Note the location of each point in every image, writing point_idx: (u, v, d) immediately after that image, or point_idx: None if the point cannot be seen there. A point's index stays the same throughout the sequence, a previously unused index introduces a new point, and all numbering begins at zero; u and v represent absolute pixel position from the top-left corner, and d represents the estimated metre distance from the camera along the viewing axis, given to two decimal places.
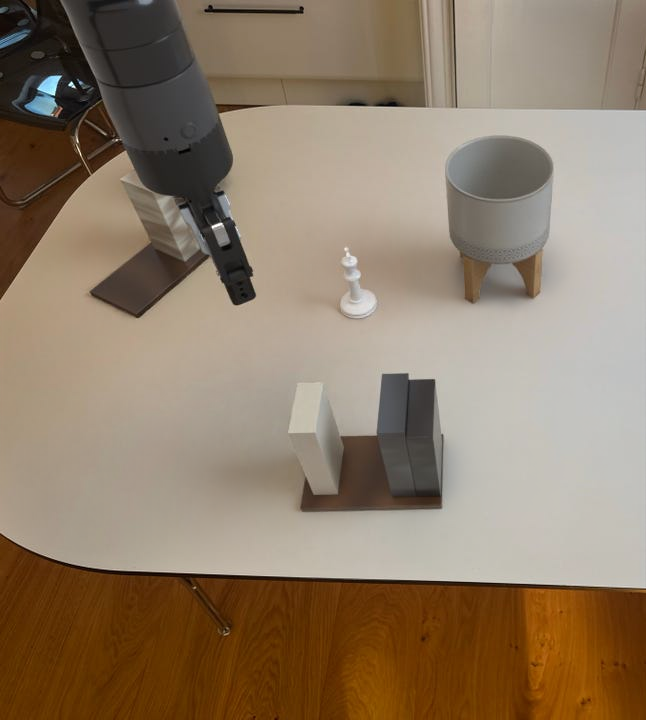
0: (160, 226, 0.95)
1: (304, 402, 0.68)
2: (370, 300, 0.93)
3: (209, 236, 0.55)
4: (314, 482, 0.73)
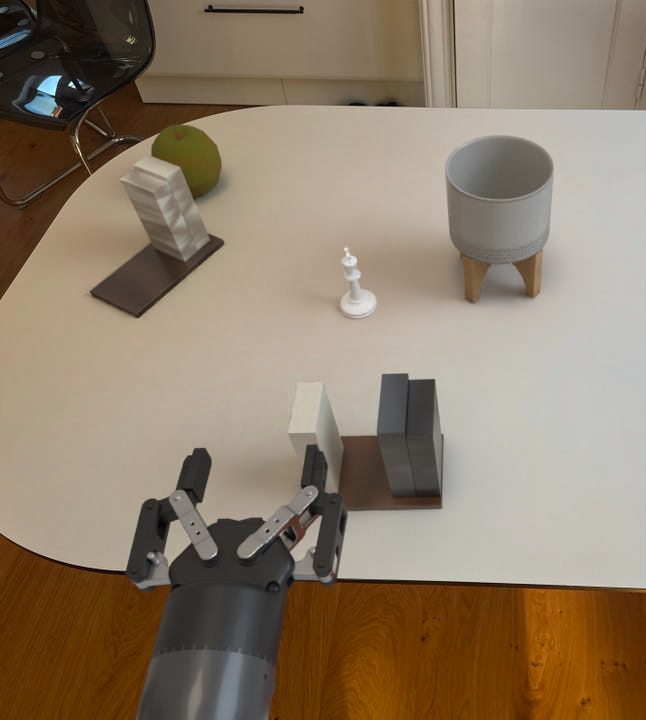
0: (160, 226, 0.95)
1: (304, 402, 0.68)
2: (370, 300, 0.93)
3: None
4: None
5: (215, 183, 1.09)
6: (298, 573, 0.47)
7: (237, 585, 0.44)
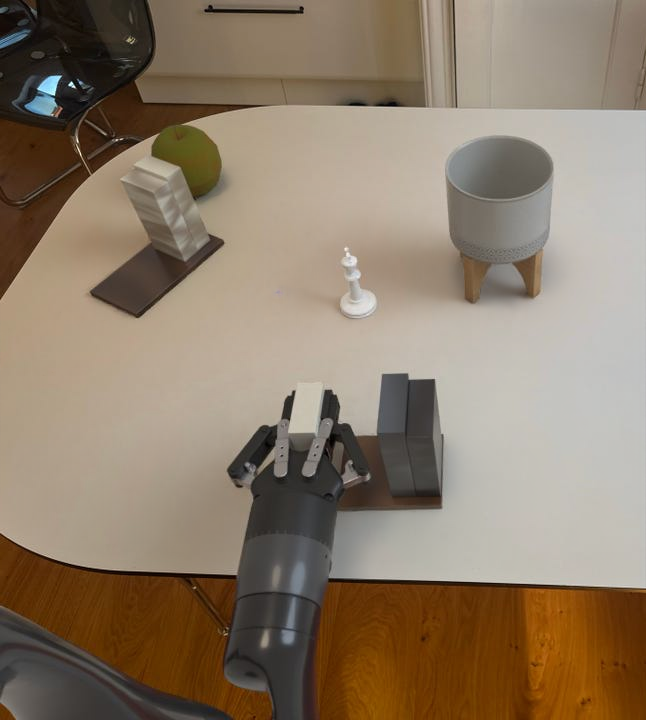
0: (160, 226, 0.95)
1: (304, 402, 0.68)
2: (370, 300, 0.93)
3: None
4: None
5: (215, 183, 1.09)
6: (347, 481, 0.65)
7: (304, 492, 0.61)
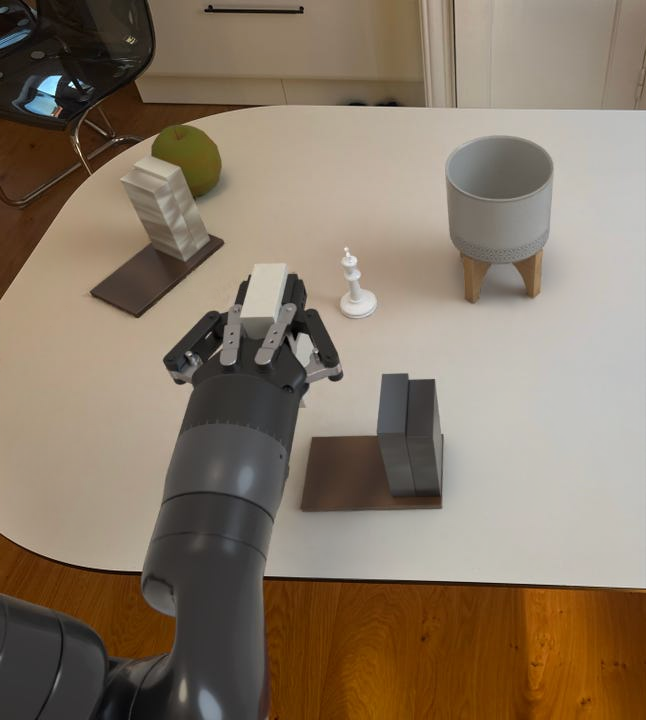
0: (160, 226, 0.95)
1: (261, 284, 0.56)
2: (370, 300, 0.93)
3: None
4: None
5: (215, 183, 1.09)
6: (312, 373, 0.52)
7: (255, 378, 0.48)
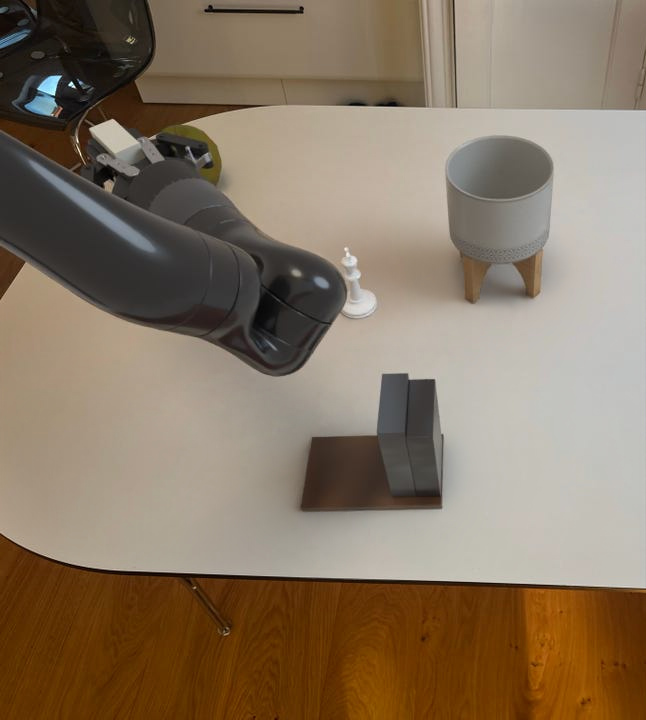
0: None
1: (108, 134, 0.70)
2: (370, 300, 0.93)
3: None
4: None
5: (215, 183, 1.09)
6: (196, 161, 0.70)
7: (171, 159, 0.65)
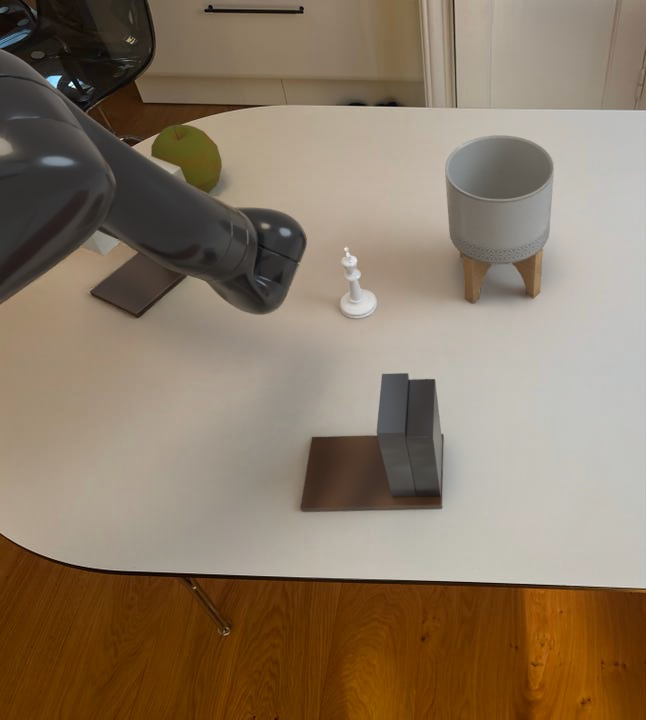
0: None
1: None
2: (370, 300, 0.93)
3: None
4: (97, 236, 0.85)
5: (215, 183, 1.09)
6: None
7: None
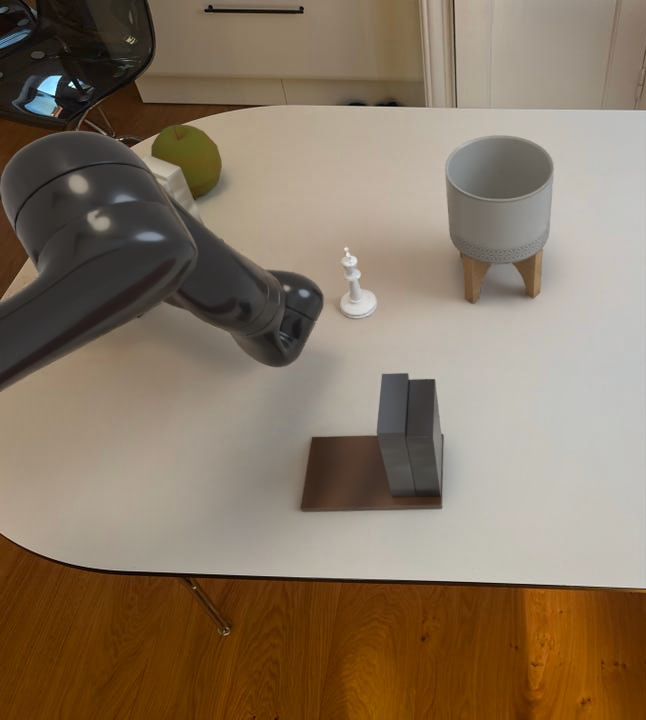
0: None
1: None
2: (370, 300, 0.93)
3: None
4: None
5: (215, 183, 1.09)
6: None
7: None
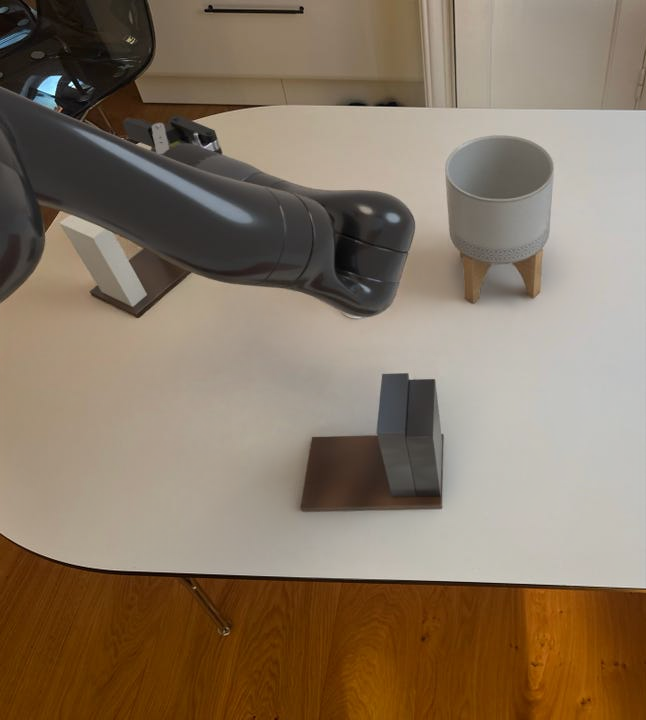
0: None
1: (79, 223, 0.86)
2: None
3: None
4: (128, 289, 0.92)
5: None
6: None
7: (184, 143, 0.64)
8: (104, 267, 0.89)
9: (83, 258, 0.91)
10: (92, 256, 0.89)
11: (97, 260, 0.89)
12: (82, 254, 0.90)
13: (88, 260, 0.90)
